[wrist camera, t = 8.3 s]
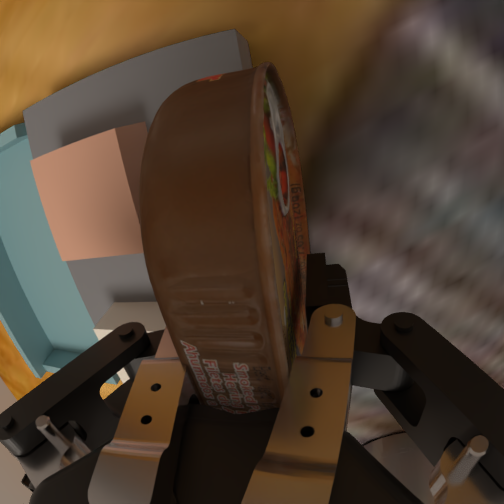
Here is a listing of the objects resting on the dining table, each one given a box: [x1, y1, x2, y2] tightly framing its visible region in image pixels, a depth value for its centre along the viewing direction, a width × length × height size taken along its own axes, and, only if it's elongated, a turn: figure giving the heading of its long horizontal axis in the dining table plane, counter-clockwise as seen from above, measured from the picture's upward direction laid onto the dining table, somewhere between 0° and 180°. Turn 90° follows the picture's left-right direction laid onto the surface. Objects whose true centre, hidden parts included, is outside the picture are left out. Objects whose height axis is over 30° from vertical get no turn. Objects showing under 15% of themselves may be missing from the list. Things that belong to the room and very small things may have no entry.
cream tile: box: [93, 302, 166, 384], centre depth 17 cm, size 5×5×2 cm
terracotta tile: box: [30, 122, 148, 261], centre depth 13 cm, size 5×5×2 cm
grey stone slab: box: [23, 29, 253, 326], centre depth 17 cm, size 20×12×3 cm, turn 10°
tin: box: [139, 62, 310, 414], centre depth 11 cm, size 15×3×8 cm, turn 9°
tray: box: [0, 123, 120, 384], centre depth 19 cm, size 19×10×4 cm, turn 10°
